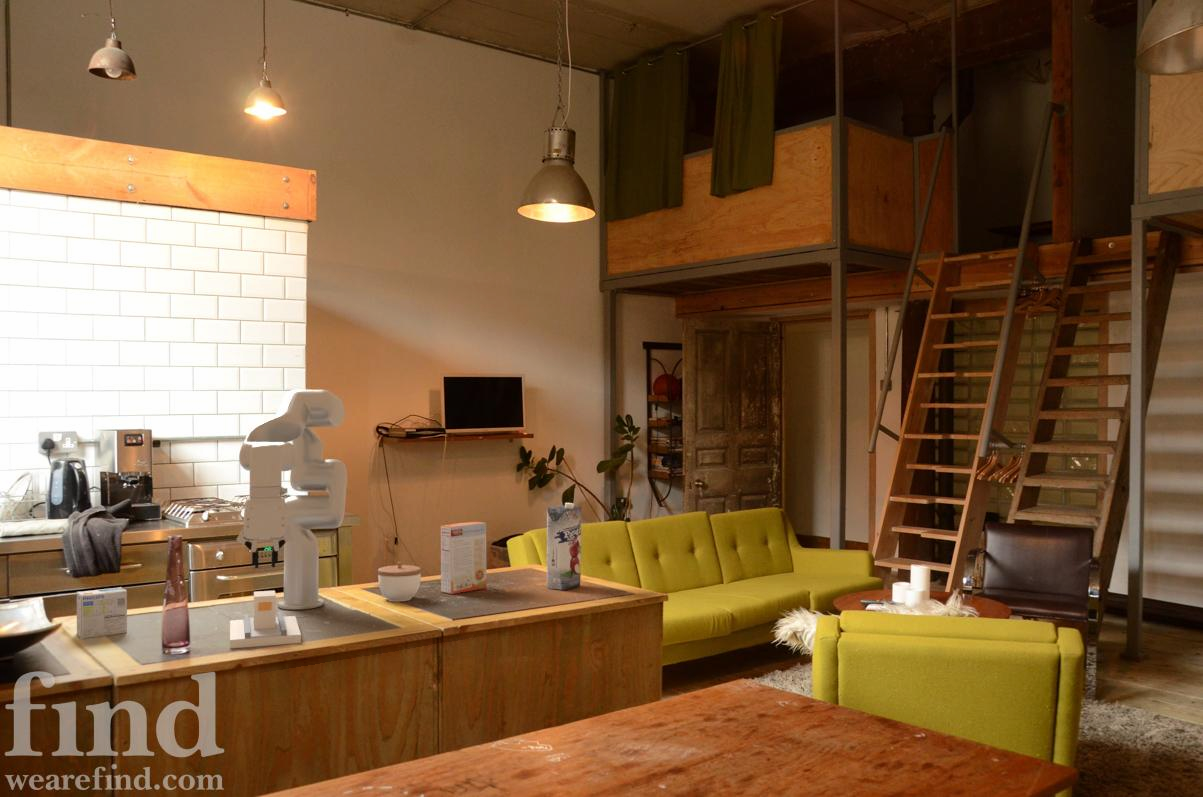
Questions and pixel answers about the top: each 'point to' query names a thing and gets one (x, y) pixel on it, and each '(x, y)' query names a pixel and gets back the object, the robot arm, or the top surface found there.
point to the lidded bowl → (399, 581)
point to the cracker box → (463, 557)
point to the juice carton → (563, 547)
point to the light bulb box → (101, 612)
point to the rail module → (264, 609)
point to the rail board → (264, 632)
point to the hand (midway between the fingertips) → (264, 566)
